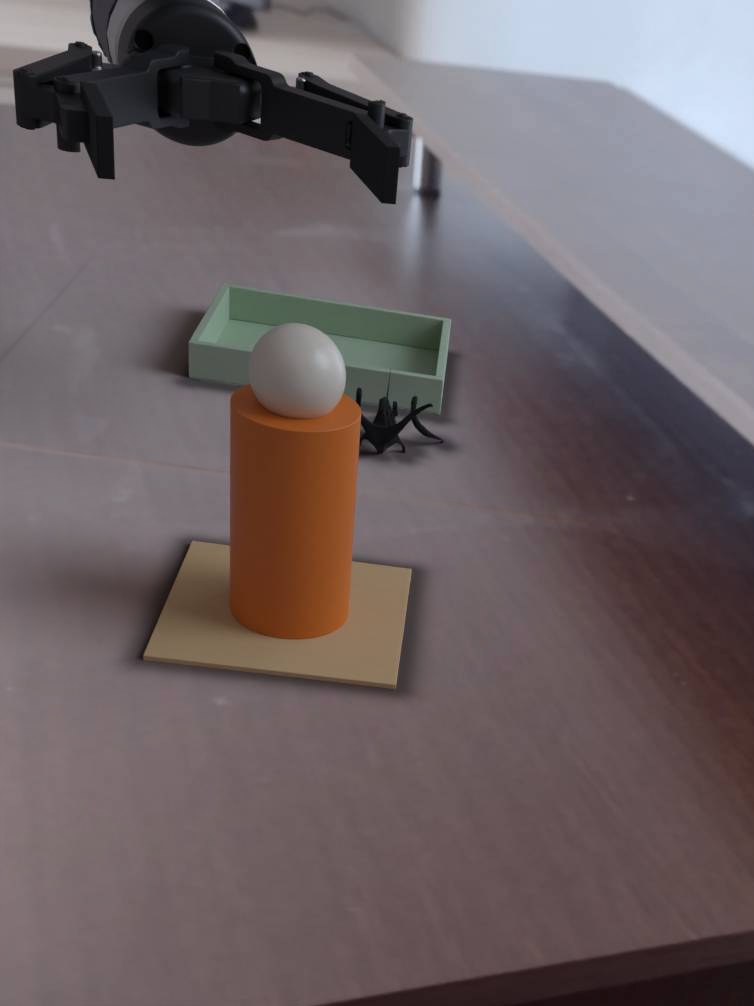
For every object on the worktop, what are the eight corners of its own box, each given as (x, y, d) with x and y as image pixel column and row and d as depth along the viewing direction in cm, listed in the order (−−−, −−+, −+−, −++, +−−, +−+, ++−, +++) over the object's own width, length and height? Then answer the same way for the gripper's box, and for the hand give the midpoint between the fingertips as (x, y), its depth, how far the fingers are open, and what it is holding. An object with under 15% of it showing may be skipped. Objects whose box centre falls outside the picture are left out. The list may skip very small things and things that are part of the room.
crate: (188, 385, 90) (188, 341, 88) (222, 323, 100) (222, 282, 98) (439, 422, 92) (443, 380, 91) (447, 357, 103) (451, 318, 101)
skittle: (220, 631, 66) (219, 338, 57) (240, 574, 71) (242, 295, 62) (342, 646, 67) (359, 359, 58) (353, 588, 71) (371, 315, 63)
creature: (328, 433, 90) (314, 455, 83) (334, 351, 88) (320, 367, 81) (443, 450, 91) (439, 473, 84) (452, 370, 89) (448, 386, 82)
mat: (143, 662, 63) (142, 655, 63) (192, 546, 73) (191, 540, 73) (395, 691, 65) (396, 684, 65) (411, 574, 74) (411, 568, 74)
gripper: (381, 152, 86) (486, 259, 71) (-43, 107, 76) (-22, 222, 61) (392, 21, 82) (506, 107, 67) (-57, -45, 71) (-39, 40, 57)
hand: (254, 162), depth 64 cm, fingers open, 13 cm apart
